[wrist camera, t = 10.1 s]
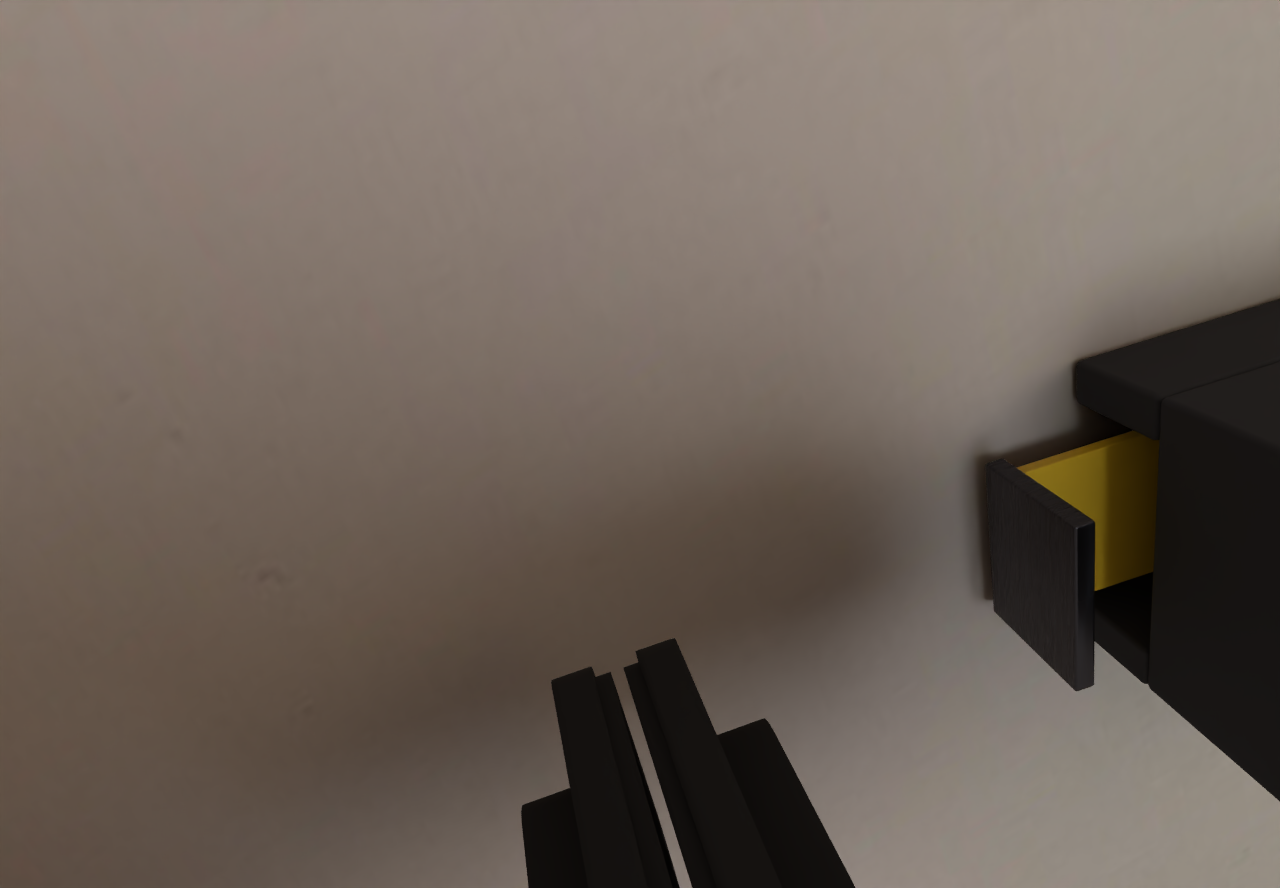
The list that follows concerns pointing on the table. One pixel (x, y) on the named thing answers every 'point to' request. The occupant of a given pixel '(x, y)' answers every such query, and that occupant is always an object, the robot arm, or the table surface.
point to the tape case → (1205, 528)
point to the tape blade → (1070, 542)
